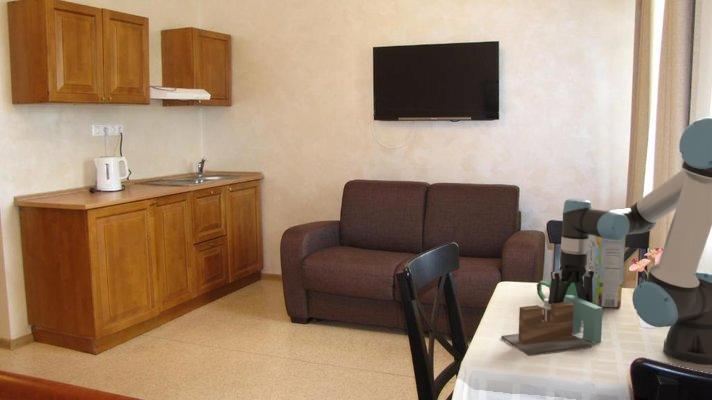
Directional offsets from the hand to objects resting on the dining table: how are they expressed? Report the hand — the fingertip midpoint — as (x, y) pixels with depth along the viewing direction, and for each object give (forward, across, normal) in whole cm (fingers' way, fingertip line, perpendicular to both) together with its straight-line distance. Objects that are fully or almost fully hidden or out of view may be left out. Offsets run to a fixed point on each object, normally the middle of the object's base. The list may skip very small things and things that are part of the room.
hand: (568, 326), depth 191 cm
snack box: (0, -30, -24) cm, 39 cm away
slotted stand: (+1, +13, +7) cm, 15 cm away
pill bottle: (+1, +3, -5) cm, 6 cm away
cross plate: (+1, -1, +5) cm, 5 cm away
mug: (+1, -7, -16) cm, 17 cm away
